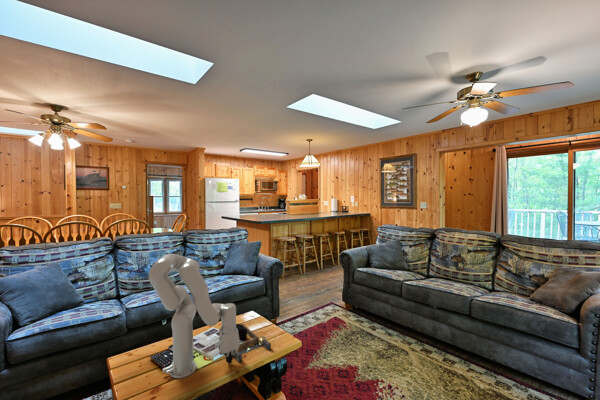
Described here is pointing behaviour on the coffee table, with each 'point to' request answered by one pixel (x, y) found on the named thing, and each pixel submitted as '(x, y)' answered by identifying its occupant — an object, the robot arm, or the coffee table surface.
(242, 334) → the film camera
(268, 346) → the lever right
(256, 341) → the dock
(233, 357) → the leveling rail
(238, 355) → the lever left
